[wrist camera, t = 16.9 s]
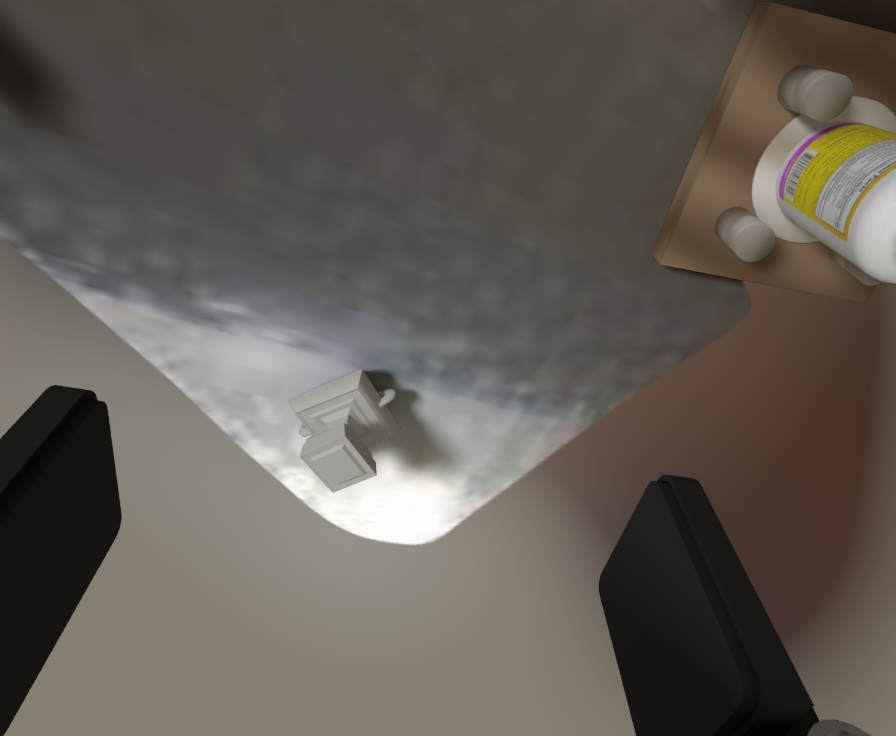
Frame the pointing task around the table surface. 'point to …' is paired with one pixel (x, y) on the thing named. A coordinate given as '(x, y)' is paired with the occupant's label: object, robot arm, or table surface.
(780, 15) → the stub board
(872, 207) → the supplement bottle
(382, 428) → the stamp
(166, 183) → the table surface
